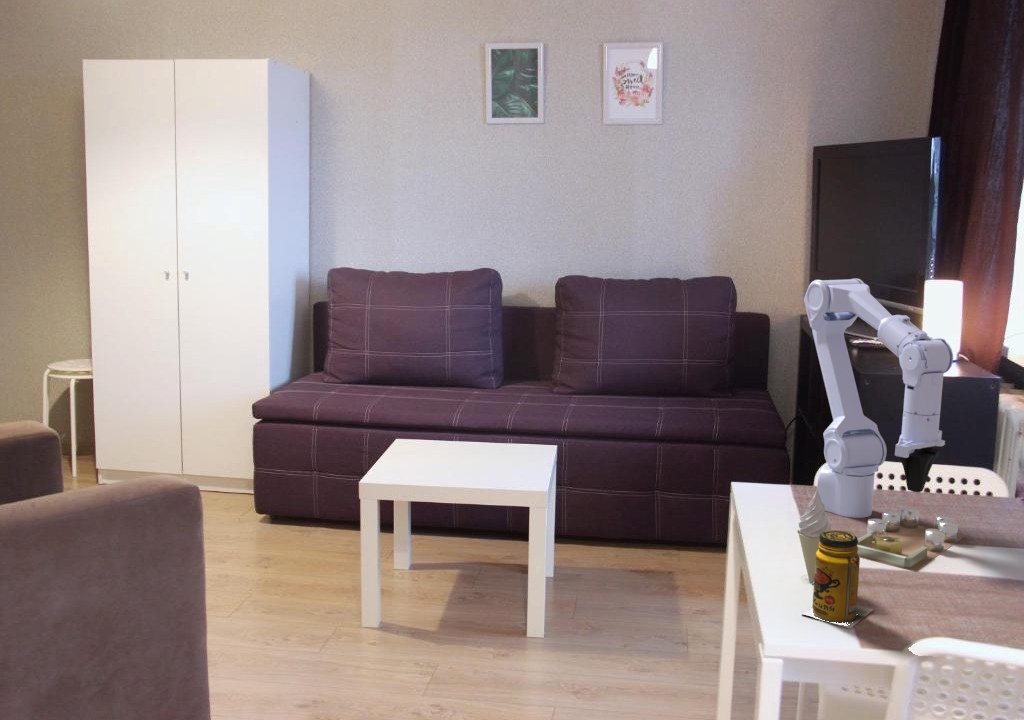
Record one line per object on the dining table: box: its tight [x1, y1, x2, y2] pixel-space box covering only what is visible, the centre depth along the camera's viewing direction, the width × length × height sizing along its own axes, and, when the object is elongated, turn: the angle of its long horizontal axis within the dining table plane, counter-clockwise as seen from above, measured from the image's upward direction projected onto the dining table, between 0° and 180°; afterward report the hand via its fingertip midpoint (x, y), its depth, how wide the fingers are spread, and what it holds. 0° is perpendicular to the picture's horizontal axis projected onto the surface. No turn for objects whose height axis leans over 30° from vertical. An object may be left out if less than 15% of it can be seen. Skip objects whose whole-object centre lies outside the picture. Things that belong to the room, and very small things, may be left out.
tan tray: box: [857, 525, 966, 573], centre depth 178 cm, size 12×22×3 cm, turn 138°
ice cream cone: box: [797, 489, 832, 584], centre depth 163 cm, size 5×5×15 cm
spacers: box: [866, 506, 959, 553], centre depth 181 cm, size 12×13×3 cm
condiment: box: [812, 529, 874, 629], centre depth 152 cm, size 7×8×12 cm
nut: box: [874, 535, 903, 556], centre depth 173 cm, size 4×5×3 cm
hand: (915, 490), depth 179 cm, fingers closed
